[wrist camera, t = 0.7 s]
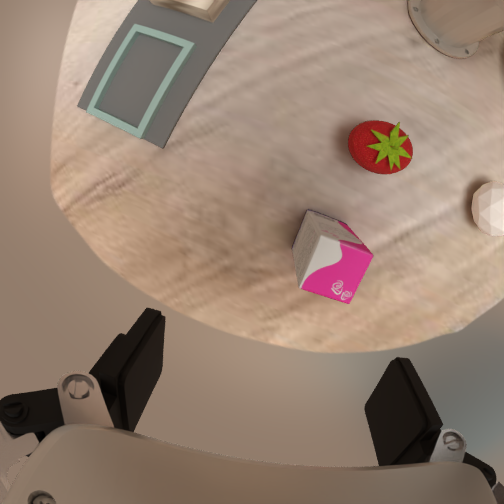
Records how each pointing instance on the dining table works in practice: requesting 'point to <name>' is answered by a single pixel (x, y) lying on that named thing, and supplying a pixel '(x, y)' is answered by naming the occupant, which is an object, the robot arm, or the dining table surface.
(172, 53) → the charcoal mat
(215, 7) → the beige block
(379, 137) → the strawberry
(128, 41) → the teal frame
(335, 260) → the supplement box
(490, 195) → the geometric ball
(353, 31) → the dining table surface
